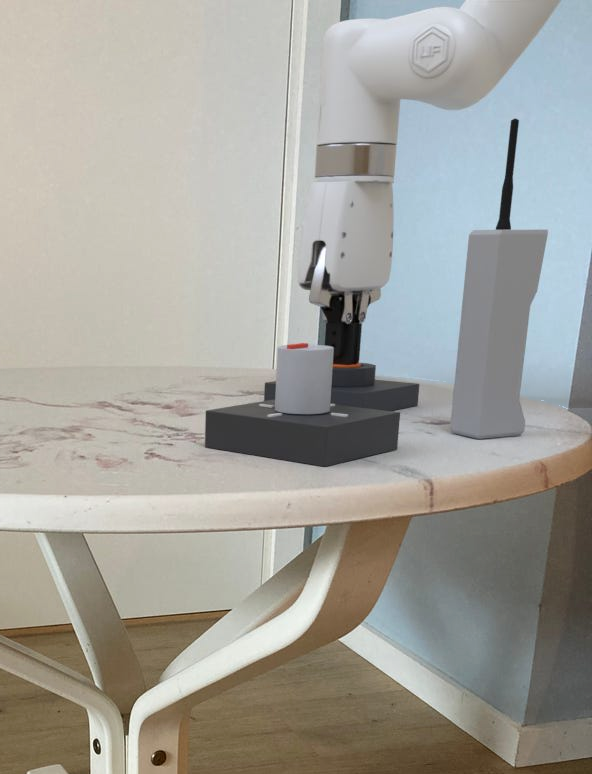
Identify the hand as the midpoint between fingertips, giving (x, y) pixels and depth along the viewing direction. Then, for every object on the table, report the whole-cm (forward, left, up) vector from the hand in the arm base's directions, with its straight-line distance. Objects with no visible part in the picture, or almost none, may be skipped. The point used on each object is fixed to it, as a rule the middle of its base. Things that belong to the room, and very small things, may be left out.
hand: (341, 363), depth 112 cm
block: (0, 0, -4) cm, 4 cm away
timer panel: (-12, +23, -4) cm, 26 cm away
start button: (0, 0, -2) cm, 2 cm away
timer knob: (-12, +23, -1) cm, 26 cm away
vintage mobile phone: (-20, +6, -4) cm, 21 cm away
